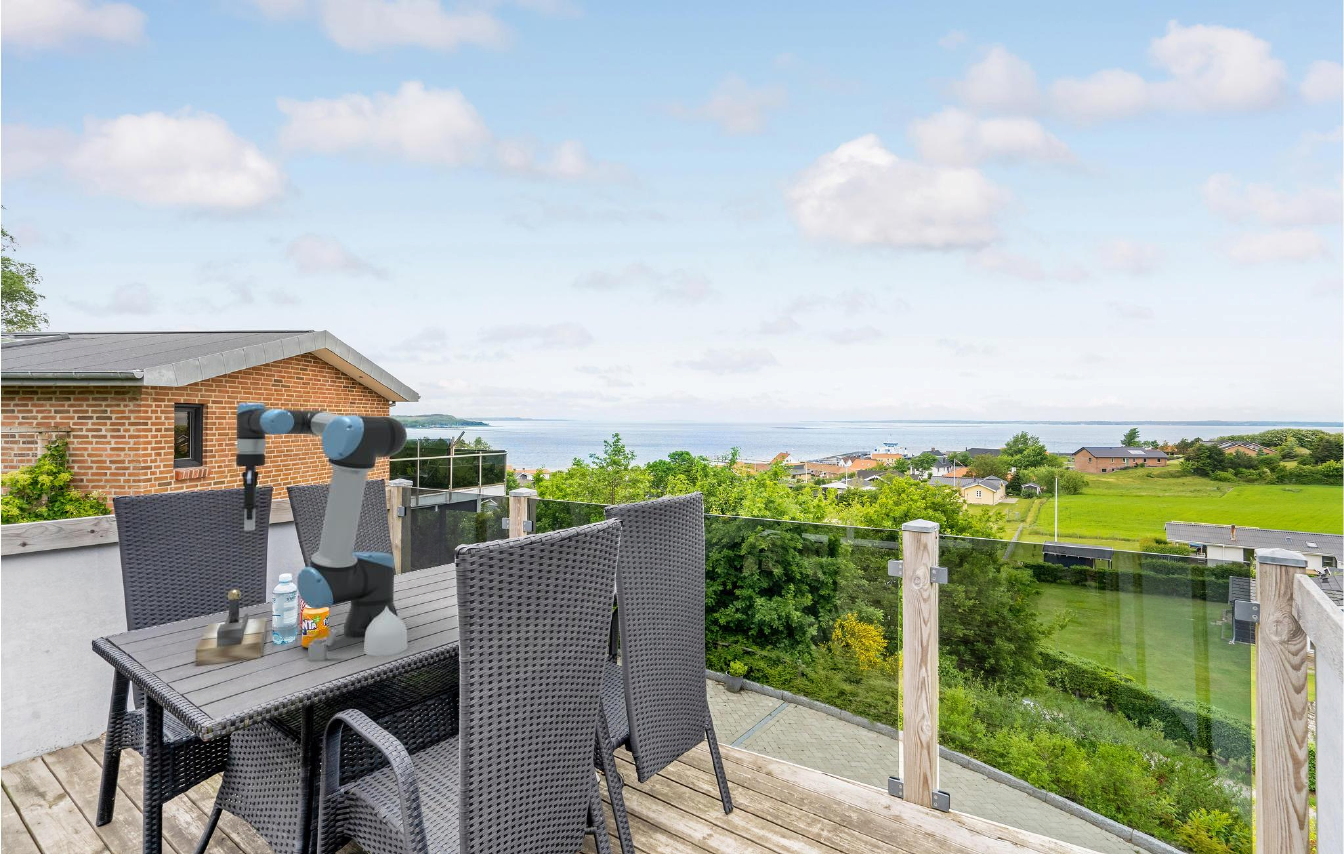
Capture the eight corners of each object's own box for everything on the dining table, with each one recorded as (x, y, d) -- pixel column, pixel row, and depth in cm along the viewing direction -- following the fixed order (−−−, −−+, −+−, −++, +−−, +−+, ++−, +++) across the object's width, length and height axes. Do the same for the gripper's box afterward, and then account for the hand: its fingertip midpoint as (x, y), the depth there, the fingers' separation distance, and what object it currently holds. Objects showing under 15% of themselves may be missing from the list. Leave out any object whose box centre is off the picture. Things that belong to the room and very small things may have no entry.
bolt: (240, 629, 181) (241, 587, 181) (236, 641, 171) (237, 597, 171) (227, 630, 180) (228, 588, 180) (222, 643, 169) (223, 598, 169)
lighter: (307, 660, 170) (308, 629, 170) (311, 658, 172) (311, 627, 172) (335, 660, 170) (336, 629, 171) (338, 658, 172) (339, 627, 172)
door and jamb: (266, 631, 194) (267, 603, 194) (260, 657, 172) (261, 626, 172) (208, 637, 187) (209, 609, 187) (195, 665, 165) (195, 633, 165)
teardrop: (379, 658, 172) (380, 613, 173) (354, 650, 178) (355, 606, 178) (416, 647, 182) (416, 603, 182) (391, 640, 188) (392, 598, 188)
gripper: (238, 452, 207) (237, 527, 206) (234, 453, 195) (232, 533, 195) (266, 452, 210) (265, 526, 210) (263, 453, 199) (262, 532, 199)
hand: (249, 529), depth 202 cm, fingers closed
